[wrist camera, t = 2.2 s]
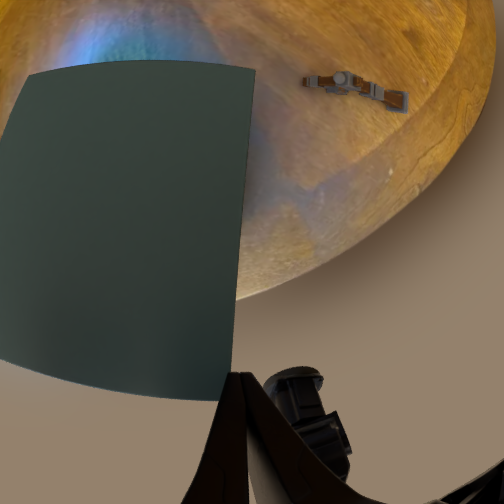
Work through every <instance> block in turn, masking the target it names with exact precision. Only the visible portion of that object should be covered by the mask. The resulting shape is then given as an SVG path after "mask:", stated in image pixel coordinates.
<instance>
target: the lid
mask: <svg viewBox="0 0 504 504" xmlns="http://www.w3.org/2000/svg"><path fill="white" fill-rule="evenodd" d="M255 72H256V71H255V69H249V68H243V67H237V66H230V65H222V64H213V63H203V62H191V61H171V60H134V61H115V62H103V63H93V64H85V65H78V66H71V67H65V68H60V69H55V70H50V71H45V72H41V73H36V74H32V75H29V76H28V78H27V80H26V82H25V84H24V86H23V88H22V90H21V92H20V94H19V96H18V98H17V100H16V102H15V105H14V107H13V109H12V112H11V114H10V116H9V119H8V121H7V124H6V127H5V129H4V132H3V135H2V138H1V141H0V359H2V360H4V361H6V362H9V363H11V364H14V365H17V366H20V367H22V368H26V369H28V370H31V371H34V372H37V373H40V374H44V375H47V376H51V377H54V378H57V379H61V380H65V381H69V382H73V383H76V384H81V385H85V386H90V387H94V388H99V389H105V390H110V391H115V392H121V393H127V394H134V395H142V396H149V397H159V398H169V399H180V400H197V401H219V399H220V396H221V393H222V389H223V386H224V383H225V379H226V376H227V373H228V372H231V361H232V360H231V359H232V345H233V329H234V316H235V302H236V288H237V275H238V262H239V249H240V236H241V224H242V212H243V200H244V188H245V177H246V166H247V155H248V144H249V133H250V122H251V112H252V102H253V92H254V82H255Z"/></svg>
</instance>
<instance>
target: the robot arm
mask: <svg viewBox="0 0 504 504" xmlns="http://www.w3.org/2000/svg"><path fill="white" fill-rule="evenodd" d="M323 380H324V378H323V376H310V377H297V378H280V379H277V380H276V381H275V384H274V386H273V389H272V391H271V393H270V396H268V394H267V393H266V392H265V390H264V389H263V388H262V386H261V385H260V383H259V382H258V381H257V379H256V378H255V377H254V375H253V374H252V373H251V372H240V373H239V372H228V373H227V376H226V379H225V383H224V386H223V389H222V393H221V396H220V399H219V402H218V406H217V409H216V412H215V416H214V419H213V422H212V426H211V429H210V432H209V435H208V438H207V442H206V445H205V448H204V452H203V454H202V457H201V461H200V463H199V466H198V469H197V472H196V474H195V476H194V478H193V481H192V483H191V485H190V487H189V489H188V491H187V492H186V494H185V496H184V498H183V500H182V502H181V504H249V484H248V483H249V482H248V471H249V475H250V479H251V483H252V487H253V491H254V495H255V499H256V503H257V504H386V503H382V502H379V501H376V500H373V499H370V498H367V497H365V496H362V495H360V494H359V493H357V492H356V491H354V490H353V489H352V488H351V487H349V486H348V485H347V484H346V481H347V478H348V474H349V471H350V463H349V460H348V457H347V455H350V454H352V450H351V446H350V444H349V441H348V438H347V435H346V433H345V431H344V428H343V426H342V423H341V421H340V419H339V416H338V414H337V411H333V412H332V413H330V414H327V415H326V414H325V411H324V408H323V405H322V402H321V399H320V396H319V393H318V388H319V387H320V385H321V383H322V382H323ZM425 504H504V458H503V459H502V460H501V461H499V462H498V463H496V464H495V465H494V466H492V467H491V468H489V469H488V470H486V471H485V472H483V473H482V474H480V475H479V476H477V477H476V478H474V479H472V480H471V481H469V482H467V483H466V484H464V485H462V486H461V487H459V488H457V489H455V490H453V491H452V492H450V493H448V494H447V495H445V496H443V497H442V498H440V499H439V500H432V501H430V502H427V503H425Z"/></svg>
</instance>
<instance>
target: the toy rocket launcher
mask: <svg viewBox="0 0 504 504" xmlns="http://www.w3.org/2000/svg"><path fill="white" fill-rule="evenodd" d="M303 86H306V87H316V88H327V90H326V93H336V94H342V95H347V92H348V91H349V90H351V91H357V92H359V95H361V96H364V97H369V98H371V99H372V100H380V101H382V102H383V103H385V104H387V110H388V111H391V112H398V113H404V114H408V95H409V93H408V92H403V91H394V90H387V91H385V90H384V88H382V87H380V86H378V85H377V84H374V83H372V82H366V81H363V78H361V77H360V76H357V75H354V74H352V73H351V72H349V71H342V72H336V73H335V74H334V76H330V77H321V76H310V77H307V78H303Z"/></svg>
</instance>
